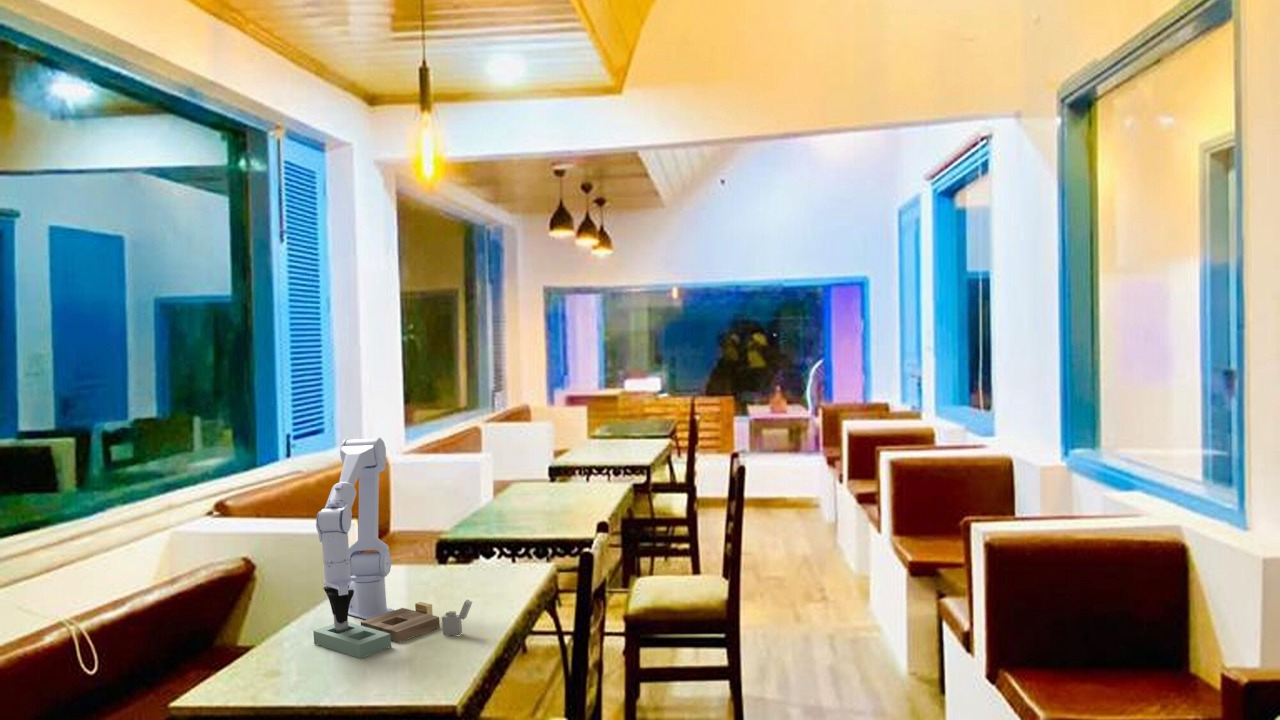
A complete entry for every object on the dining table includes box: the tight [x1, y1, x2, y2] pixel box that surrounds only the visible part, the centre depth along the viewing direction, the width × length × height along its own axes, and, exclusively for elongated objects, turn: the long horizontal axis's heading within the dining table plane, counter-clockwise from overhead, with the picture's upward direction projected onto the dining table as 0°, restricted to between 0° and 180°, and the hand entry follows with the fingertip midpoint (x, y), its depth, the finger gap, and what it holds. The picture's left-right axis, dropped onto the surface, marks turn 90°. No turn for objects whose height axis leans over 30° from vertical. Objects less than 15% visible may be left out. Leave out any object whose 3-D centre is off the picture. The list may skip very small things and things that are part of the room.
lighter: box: [441, 599, 473, 636], centre depth 212 cm, size 7×2×8 cm, turn 78°
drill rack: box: [312, 621, 392, 659], centre depth 208 cm, size 18×8×3 cm, turn 51°
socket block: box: [360, 607, 441, 643], centre depth 217 cm, size 14×12×2 cm
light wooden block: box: [414, 601, 434, 615], centre depth 221 cm, size 4×6×4 cm
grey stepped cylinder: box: [333, 615, 349, 634], centre depth 211 cm, size 3×3×9 cm
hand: (340, 618), depth 211 cm, fingers open, 4 cm apart
